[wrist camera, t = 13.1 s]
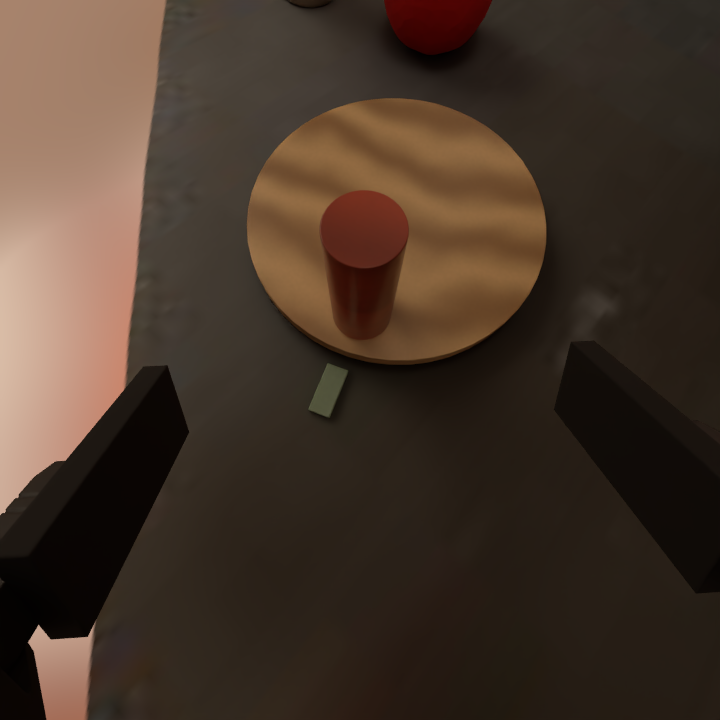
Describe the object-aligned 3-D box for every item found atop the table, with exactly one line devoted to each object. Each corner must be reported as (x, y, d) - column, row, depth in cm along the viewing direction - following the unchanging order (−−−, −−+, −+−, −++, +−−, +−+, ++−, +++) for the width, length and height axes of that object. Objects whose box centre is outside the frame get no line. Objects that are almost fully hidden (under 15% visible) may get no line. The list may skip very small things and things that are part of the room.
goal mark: (328, 364, 29) (327, 362, 29) (348, 372, 29) (348, 370, 28) (308, 410, 28) (307, 409, 28) (329, 418, 28) (329, 417, 28)
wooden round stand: (311, 82, 34) (289, -96, 23) (564, 152, 32) (668, -6, 22) (203, 309, 29) (109, 213, 18) (502, 407, 27) (598, 367, 16)
